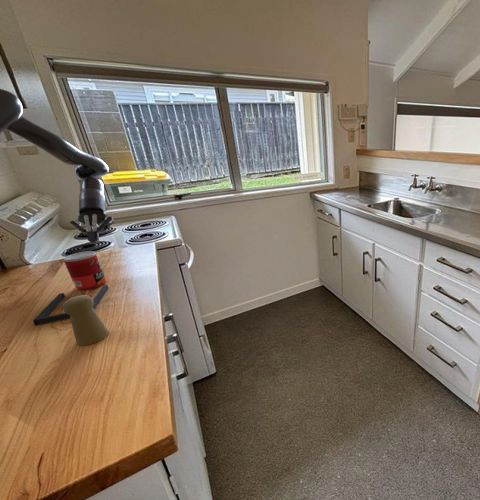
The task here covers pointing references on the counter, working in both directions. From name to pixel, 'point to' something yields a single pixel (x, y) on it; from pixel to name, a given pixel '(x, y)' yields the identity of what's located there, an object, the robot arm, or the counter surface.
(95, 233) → the robot arm
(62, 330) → the counter surface
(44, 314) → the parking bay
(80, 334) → the cork
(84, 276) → the canned food
